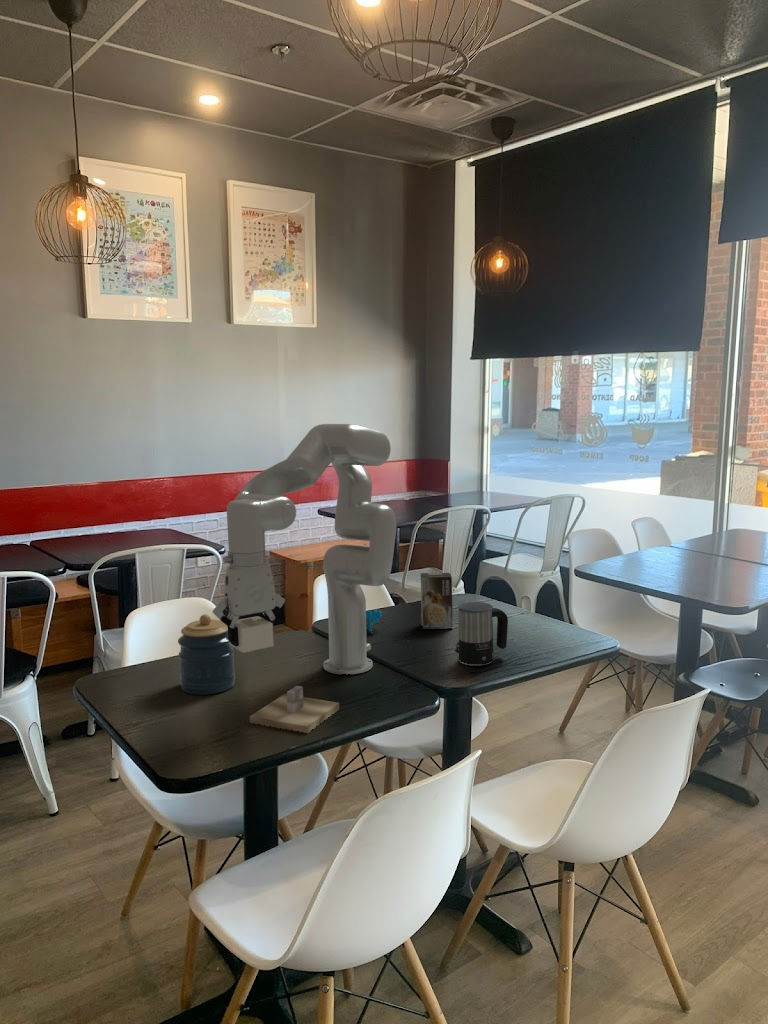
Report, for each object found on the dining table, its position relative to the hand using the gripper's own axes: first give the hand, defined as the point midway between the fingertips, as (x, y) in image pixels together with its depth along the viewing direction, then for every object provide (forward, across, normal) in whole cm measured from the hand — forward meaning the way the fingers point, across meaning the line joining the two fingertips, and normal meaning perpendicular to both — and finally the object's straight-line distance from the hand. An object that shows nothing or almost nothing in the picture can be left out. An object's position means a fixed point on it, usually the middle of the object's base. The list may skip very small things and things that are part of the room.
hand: (251, 640), depth 168 cm
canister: (+18, -1, +25) cm, 30 cm away
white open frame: (+1, 0, 0) cm, 1 cm away
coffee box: (+19, +74, +32) cm, 83 cm away
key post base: (+17, +8, -4) cm, 19 cm away
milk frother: (+18, +65, +4) cm, 67 cm away
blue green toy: (+19, +54, +40) cm, 70 cm away
